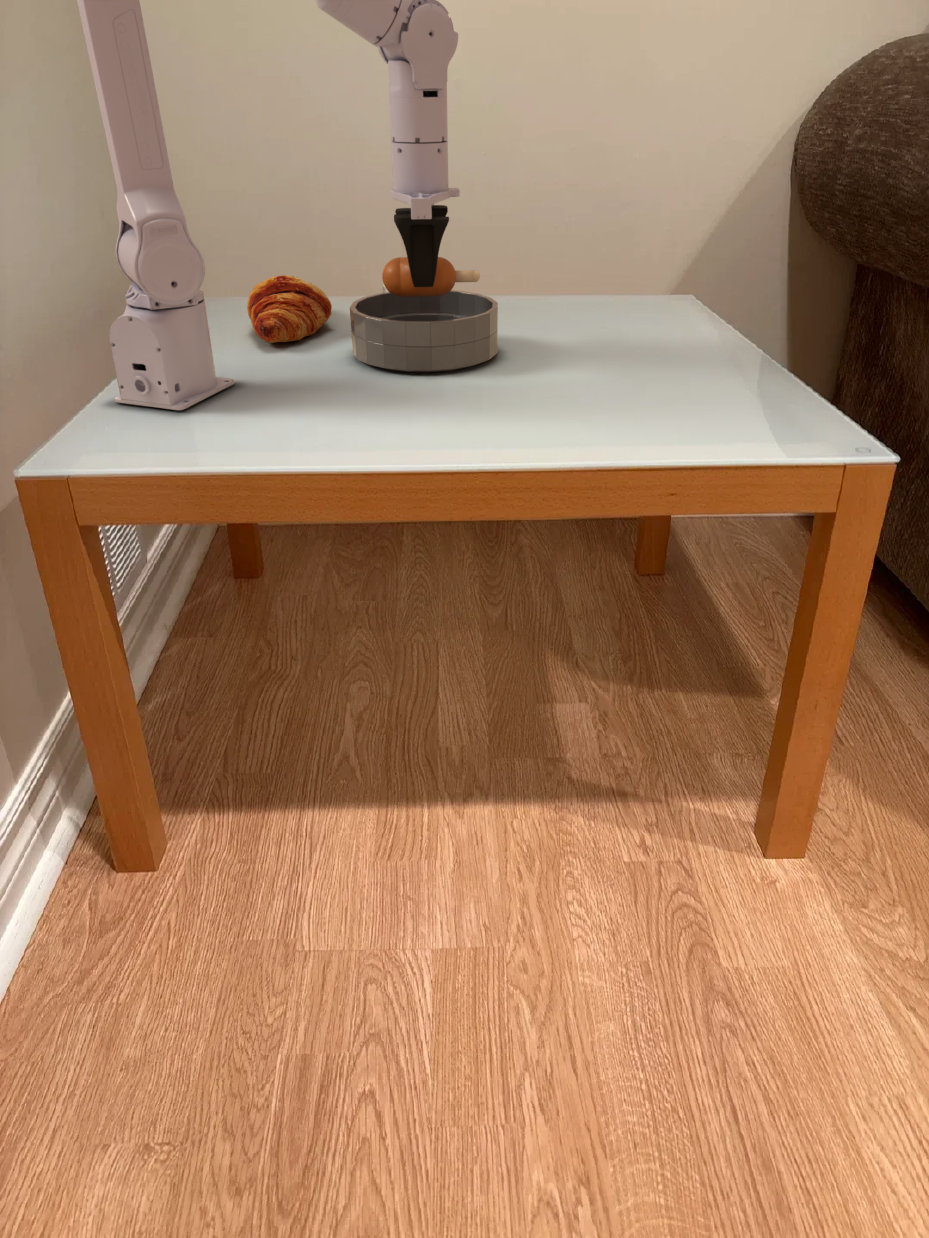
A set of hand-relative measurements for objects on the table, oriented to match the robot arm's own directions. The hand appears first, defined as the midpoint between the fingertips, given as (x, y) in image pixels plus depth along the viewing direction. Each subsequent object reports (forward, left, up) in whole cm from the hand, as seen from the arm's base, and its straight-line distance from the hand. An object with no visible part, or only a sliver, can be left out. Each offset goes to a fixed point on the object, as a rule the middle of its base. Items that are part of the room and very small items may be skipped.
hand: (423, 282), depth 100 cm
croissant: (+5, +20, -8) cm, 22 cm away
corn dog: (0, -1, -1) cm, 2 cm away
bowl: (0, 0, -8) cm, 8 cm away
